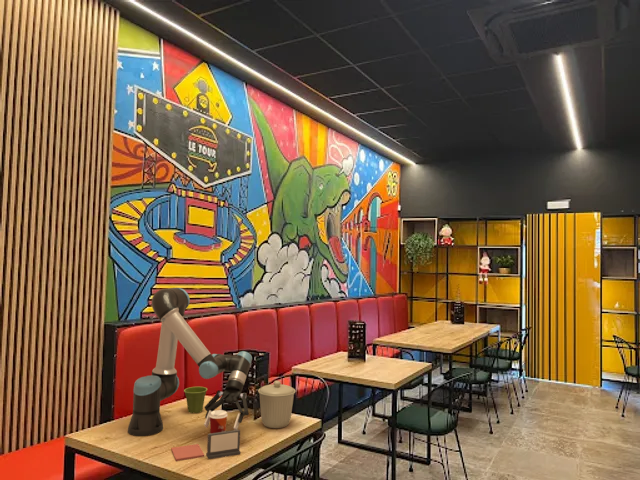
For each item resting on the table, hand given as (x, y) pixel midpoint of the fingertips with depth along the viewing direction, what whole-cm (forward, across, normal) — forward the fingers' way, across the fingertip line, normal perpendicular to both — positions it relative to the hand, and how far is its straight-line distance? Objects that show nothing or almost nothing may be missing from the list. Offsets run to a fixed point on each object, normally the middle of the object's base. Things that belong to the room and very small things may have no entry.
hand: (220, 427), depth 198 cm
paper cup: (+6, +1, -5) cm, 8 cm away
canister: (-17, -14, -28) cm, 36 cm away
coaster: (+13, +9, +2) cm, 16 cm away
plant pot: (-21, +32, -32) cm, 50 cm away
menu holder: (+11, -5, 0) cm, 12 cm away
